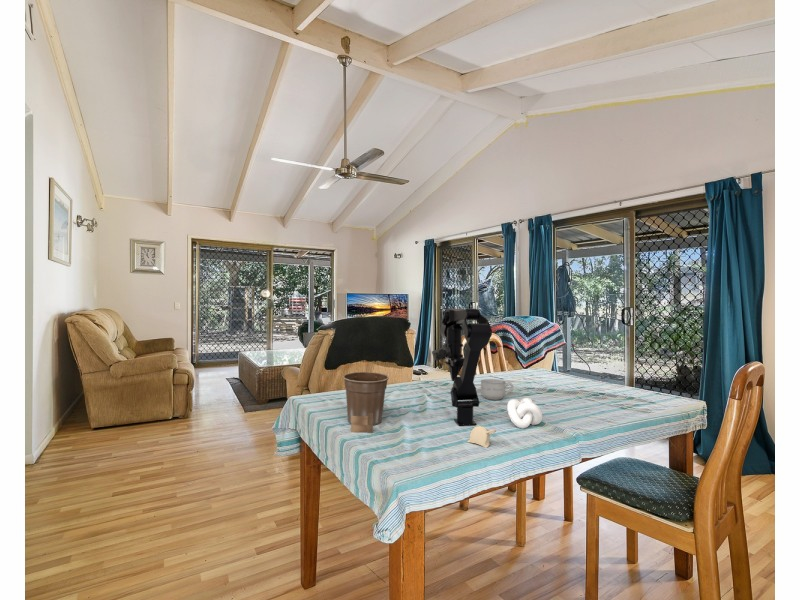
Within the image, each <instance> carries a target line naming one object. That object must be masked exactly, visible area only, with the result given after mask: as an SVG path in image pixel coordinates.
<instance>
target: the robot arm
mask: <svg viewBox="0 0 800 600" xmlns="http://www.w3.org/2000/svg"><path fill="white" fill-rule="evenodd" d="M467 321H476V322H477V323H473V322H472V323H467ZM440 322H441V327H440V329H439V333H440V335H441V337H443V338H445V339H446V342H445V343H444V346H443V347H439V348H437V349H434V350H432V351H431V354H432V356H433V360H435V361H437V362H438V361H440V360H444V359H445V361H444V364H445V365H446V366H447V367H448V371H449V375H450V378H451V381H452V382H453V383H452V387H451V388H450V393H449V394H450V397H451V407H455V408H456V418H453V422H455V423H456V424H457V426H463V427H464V426H477V423H476V422H475V421H474V408H476V407H477V408H479V407H480V400H479V395H478V391H477V388H476V386H475V385H476V384H475V383H474V382H475V381H474V380H475V378H476V377H475V376H476V373H477V369H478V364H479V360H480V357H481V353H482V350H483V349H484V348H485V347H486V346H488V345H489V342H490V339H491V338H492V336H493V328H492V326H491V324H490V321H489V320H488V319H487V318H486V317H485V316H484V315H482V314H481V312H480V309H477V308H465V309H463V308H446V310H445V311H444V313H443V315H442V318H441V321H440ZM462 333H463V335H464V339H465V340H466V344H467V345H466V350H465V355H463V354H462V347H464V343H462V336H463V335H462ZM460 371H461V372H460ZM459 375H460V376H459Z"/></svg>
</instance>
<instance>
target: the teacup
mask: <svg viewBox="0 0 800 600" xmlns="http://www.w3.org/2000/svg"><path fill="white" fill-rule="evenodd" d="M508 386H510V389H509V390H506V389H507V387H508ZM513 390H514V384H513V383H512V382H509V381H507V382H506V381H505V380H502V379H494V378H485V379H481V380H480V391H481V396H483V397H484V398H485V399H487V400H496V401H498V400H501V399H502V398H503V397H504V396H507V394H509V393H511V392H512V391H513Z"/></svg>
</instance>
